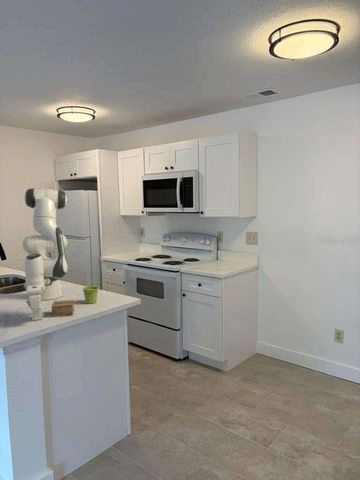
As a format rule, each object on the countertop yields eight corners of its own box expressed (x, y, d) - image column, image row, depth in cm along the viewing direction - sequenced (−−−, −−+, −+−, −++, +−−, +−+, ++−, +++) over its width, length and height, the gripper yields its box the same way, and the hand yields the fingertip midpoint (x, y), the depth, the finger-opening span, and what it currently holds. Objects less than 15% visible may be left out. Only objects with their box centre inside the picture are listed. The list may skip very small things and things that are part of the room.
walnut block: (54, 311, 192) (54, 301, 192) (74, 310, 194) (73, 299, 194) (52, 317, 183) (51, 306, 182) (72, 316, 185) (71, 304, 184)
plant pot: (90, 299, 215) (90, 285, 214) (102, 301, 210) (102, 287, 210) (79, 303, 207) (78, 288, 206) (91, 305, 202) (90, 290, 202)
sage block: (32, 317, 182) (32, 306, 181) (42, 316, 183) (41, 305, 182) (32, 320, 177) (31, 308, 177) (41, 319, 179) (41, 307, 178)
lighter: (41, 312, 190) (40, 298, 189) (41, 313, 189) (40, 299, 188) (27, 314, 188) (26, 299, 187) (27, 315, 186) (26, 300, 185)
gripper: (30, 283, 187) (31, 308, 189) (26, 292, 168) (28, 320, 170) (43, 282, 189) (44, 307, 191) (41, 290, 170) (42, 319, 171)
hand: (37, 313), depth 180 cm, fingers closed on sage block, 4 cm apart
